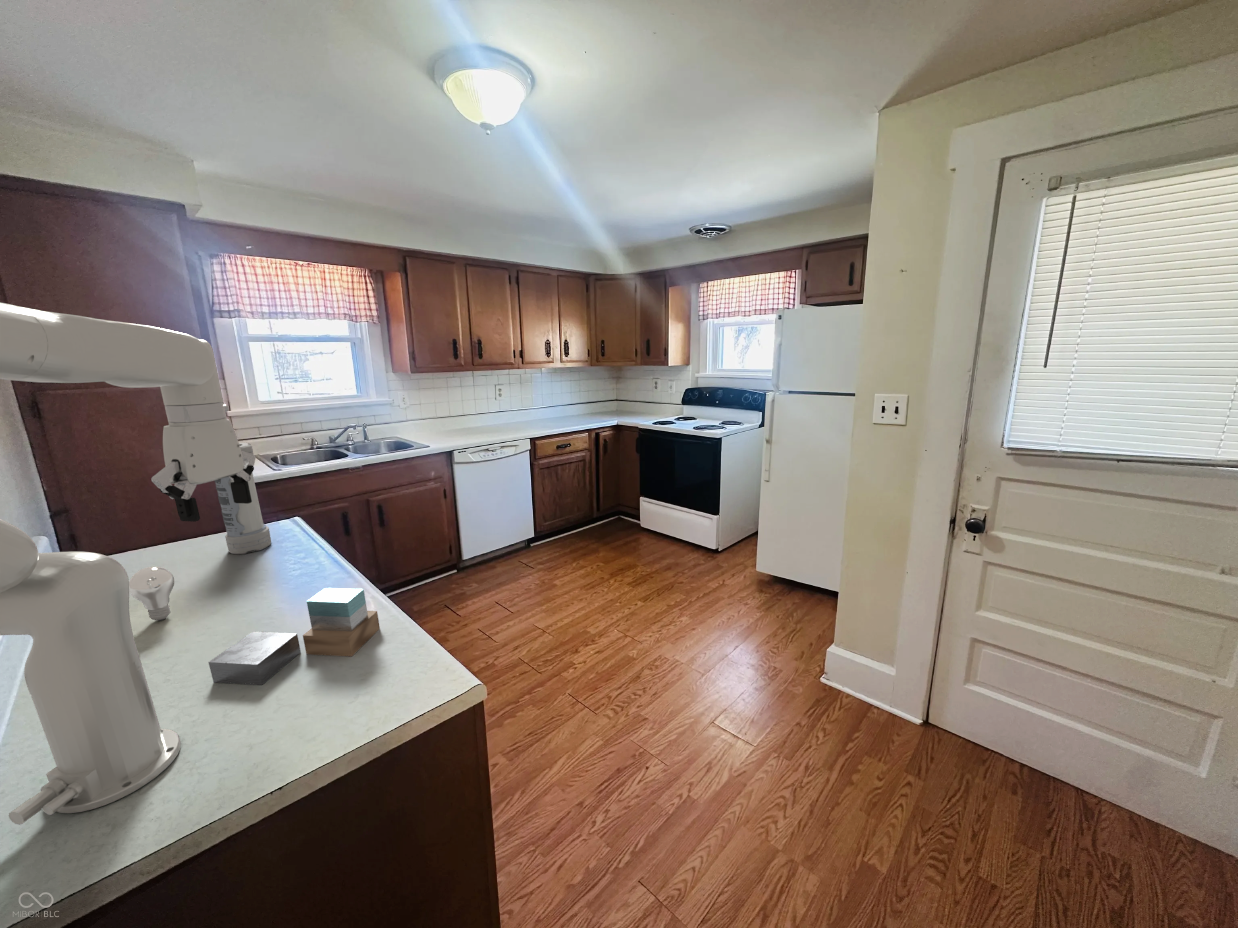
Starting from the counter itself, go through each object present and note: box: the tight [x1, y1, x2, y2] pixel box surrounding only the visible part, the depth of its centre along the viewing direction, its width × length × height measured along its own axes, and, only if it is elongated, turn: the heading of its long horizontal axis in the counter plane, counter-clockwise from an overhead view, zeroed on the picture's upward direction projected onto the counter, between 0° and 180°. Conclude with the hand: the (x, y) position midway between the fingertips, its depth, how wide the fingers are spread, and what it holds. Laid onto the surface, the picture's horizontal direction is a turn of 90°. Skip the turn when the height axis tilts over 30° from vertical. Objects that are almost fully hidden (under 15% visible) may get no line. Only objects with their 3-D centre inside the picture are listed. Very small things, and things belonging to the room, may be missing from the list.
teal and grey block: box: [306, 587, 368, 632], centre depth 92 cm, size 8×5×6 cm, turn 85°
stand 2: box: [302, 610, 381, 658], centre depth 93 cm, size 9×9×4 cm
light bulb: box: [129, 565, 175, 622], centre depth 101 cm, size 7×7×12 cm
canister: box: [213, 442, 272, 555], centre depth 136 cm, size 10×10×30 cm
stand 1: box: [208, 631, 302, 686], centre depth 86 cm, size 9×9×4 cm
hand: (218, 511), depth 85 cm, fingers open, 9 cm apart
